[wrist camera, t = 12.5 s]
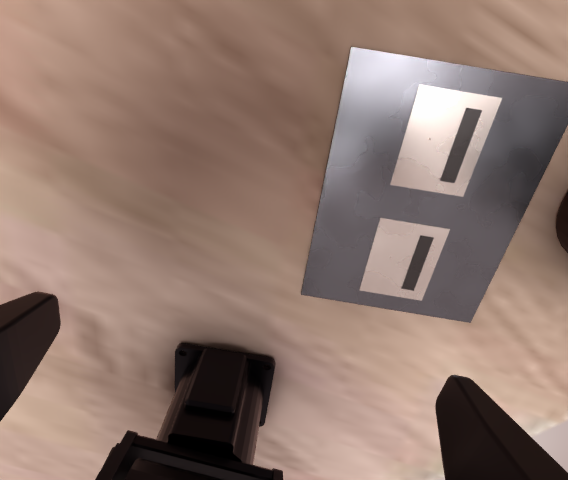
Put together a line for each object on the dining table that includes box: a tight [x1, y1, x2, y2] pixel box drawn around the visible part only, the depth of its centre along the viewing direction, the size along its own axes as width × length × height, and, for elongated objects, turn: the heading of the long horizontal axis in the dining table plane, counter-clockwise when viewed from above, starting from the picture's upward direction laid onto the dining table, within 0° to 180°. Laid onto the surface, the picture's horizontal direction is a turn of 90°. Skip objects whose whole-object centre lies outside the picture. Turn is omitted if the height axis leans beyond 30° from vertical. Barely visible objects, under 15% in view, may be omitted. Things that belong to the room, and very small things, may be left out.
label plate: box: [301, 47, 568, 323], centre depth 19 cm, size 13×10×1 cm
